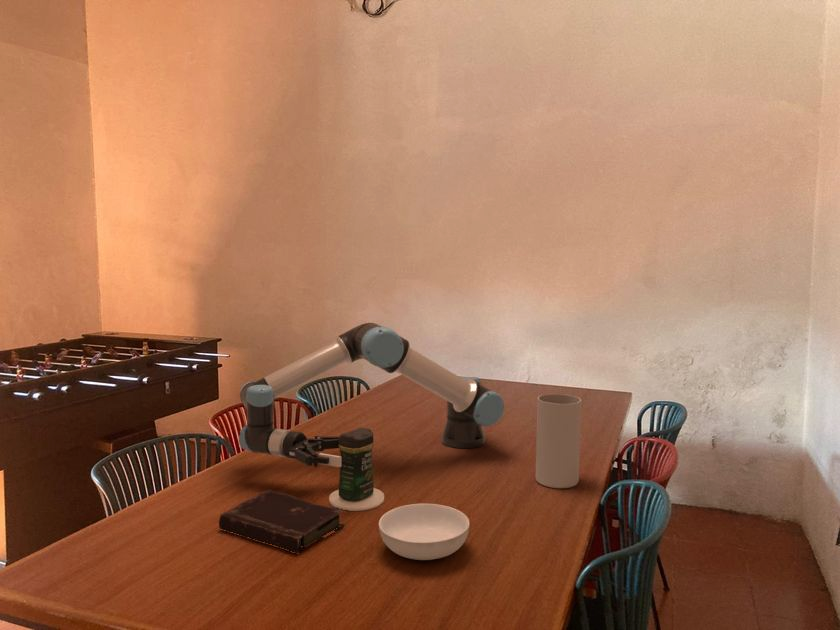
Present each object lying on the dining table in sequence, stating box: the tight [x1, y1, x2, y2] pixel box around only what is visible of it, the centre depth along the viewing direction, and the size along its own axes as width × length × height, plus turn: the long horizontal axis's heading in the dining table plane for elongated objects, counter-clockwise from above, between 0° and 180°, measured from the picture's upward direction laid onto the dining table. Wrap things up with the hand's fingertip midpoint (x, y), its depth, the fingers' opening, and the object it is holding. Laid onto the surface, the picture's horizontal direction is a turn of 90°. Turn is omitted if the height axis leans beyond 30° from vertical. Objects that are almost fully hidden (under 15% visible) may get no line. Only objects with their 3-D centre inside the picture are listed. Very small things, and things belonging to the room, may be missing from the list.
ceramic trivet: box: [328, 487, 385, 512], centre depth 182 cm, size 15×15×1 cm
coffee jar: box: [338, 427, 375, 501], centre depth 182 cm, size 10×8×19 cm
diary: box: [218, 489, 345, 553], centre depth 165 cm, size 19×25×5 cm
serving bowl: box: [378, 503, 470, 561], centre depth 154 cm, size 21×21×7 cm
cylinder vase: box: [535, 393, 582, 489], centre depth 196 cm, size 12×12×25 cm
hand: (353, 454), depth 181 cm, fingers open, 13 cm apart
